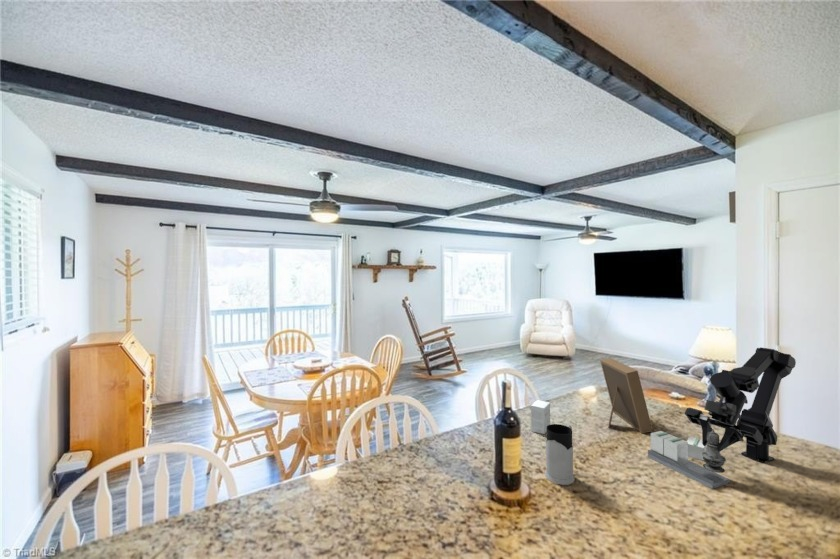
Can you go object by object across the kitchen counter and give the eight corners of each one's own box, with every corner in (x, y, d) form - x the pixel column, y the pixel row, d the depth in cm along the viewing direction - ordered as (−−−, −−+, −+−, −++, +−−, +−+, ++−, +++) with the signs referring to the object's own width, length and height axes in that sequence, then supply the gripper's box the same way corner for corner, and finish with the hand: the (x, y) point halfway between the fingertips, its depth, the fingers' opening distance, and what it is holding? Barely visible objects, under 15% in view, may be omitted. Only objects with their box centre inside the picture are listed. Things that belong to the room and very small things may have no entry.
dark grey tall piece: (728, 475, 109) (727, 434, 108) (703, 470, 111) (702, 431, 111) (723, 466, 114) (723, 427, 114) (700, 461, 117) (699, 424, 116)
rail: (664, 452, 128) (664, 428, 128) (729, 482, 110) (729, 454, 109) (647, 457, 125) (647, 432, 125) (712, 488, 107) (712, 460, 107)
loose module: (689, 449, 131) (689, 435, 131) (706, 453, 127) (706, 440, 127) (685, 456, 126) (685, 442, 126) (703, 461, 123) (703, 447, 122)
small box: (537, 424, 153) (536, 399, 153) (550, 427, 150) (550, 402, 150) (530, 431, 147) (530, 405, 147) (544, 434, 144) (544, 408, 143)
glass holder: (539, 477, 114) (539, 429, 114) (558, 459, 124) (558, 416, 124) (568, 488, 108) (567, 437, 108) (585, 469, 118) (584, 423, 118)
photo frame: (622, 412, 165) (621, 357, 165) (652, 433, 144) (651, 370, 143) (589, 412, 165) (588, 358, 165) (614, 434, 144) (613, 371, 143)
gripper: (687, 383, 122) (667, 422, 118) (758, 400, 106) (738, 446, 101) (700, 402, 126) (682, 441, 121) (771, 421, 109) (752, 467, 104)
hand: (710, 447), depth 112 cm, fingers closed on dark grey tall piece, 4 cm apart
